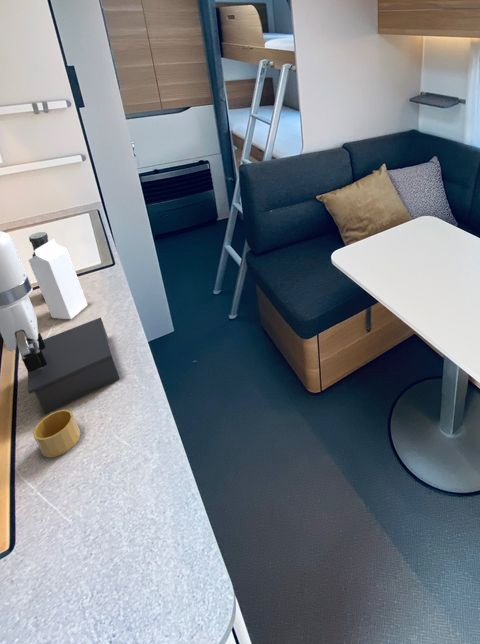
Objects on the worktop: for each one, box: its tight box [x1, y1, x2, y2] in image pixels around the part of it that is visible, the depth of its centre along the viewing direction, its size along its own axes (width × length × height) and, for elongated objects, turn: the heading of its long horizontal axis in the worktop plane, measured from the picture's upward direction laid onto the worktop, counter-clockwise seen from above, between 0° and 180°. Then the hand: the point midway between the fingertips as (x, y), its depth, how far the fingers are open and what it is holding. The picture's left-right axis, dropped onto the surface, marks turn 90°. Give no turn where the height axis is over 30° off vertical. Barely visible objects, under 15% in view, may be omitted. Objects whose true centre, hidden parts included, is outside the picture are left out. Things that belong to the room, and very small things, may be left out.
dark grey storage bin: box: [34, 321, 120, 415], centre depth 94 cm, size 14×16×6 cm
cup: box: [32, 409, 81, 458], centre depth 79 cm, size 6×6×5 cm
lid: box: [27, 316, 112, 395], centre depth 91 cm, size 15×16×5 cm
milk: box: [28, 238, 88, 320], centre depth 111 cm, size 6×6×22 cm
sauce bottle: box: [28, 231, 50, 258], centre depth 119 cm, size 6×6×20 cm
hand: (37, 358), depth 89 cm, fingers open, 5 cm apart
